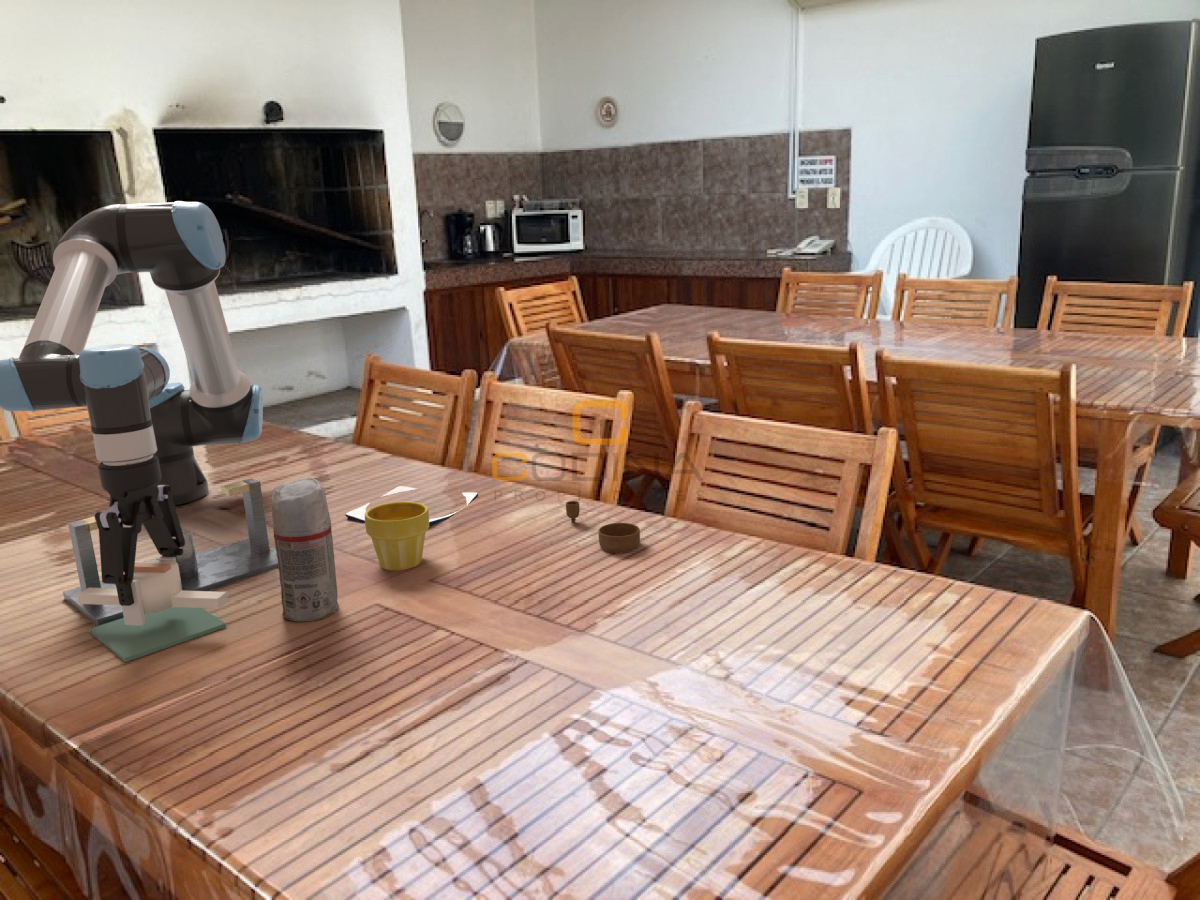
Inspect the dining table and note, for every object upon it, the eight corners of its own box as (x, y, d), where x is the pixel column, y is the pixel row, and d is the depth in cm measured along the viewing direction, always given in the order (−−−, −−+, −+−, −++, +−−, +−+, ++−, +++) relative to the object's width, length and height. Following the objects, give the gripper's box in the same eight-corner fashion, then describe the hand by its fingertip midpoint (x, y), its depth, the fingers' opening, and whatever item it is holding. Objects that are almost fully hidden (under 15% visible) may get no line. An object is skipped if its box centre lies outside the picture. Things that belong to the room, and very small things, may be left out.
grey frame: (251, 544, 169) (240, 470, 166) (294, 564, 158) (283, 486, 155) (64, 598, 148) (47, 516, 145) (98, 627, 137) (81, 538, 134)
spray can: (353, 603, 142) (338, 476, 137) (320, 626, 134) (303, 493, 129) (306, 597, 145) (289, 473, 139) (271, 620, 137) (252, 489, 132)
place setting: (568, 573, 151) (566, 539, 150) (562, 532, 171) (561, 501, 169) (675, 566, 153) (675, 532, 151) (658, 525, 172) (657, 494, 170)
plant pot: (445, 558, 158) (440, 503, 156) (409, 581, 149) (403, 523, 147) (395, 551, 162) (390, 498, 160) (357, 573, 153) (350, 517, 151)
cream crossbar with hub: (238, 593, 136) (232, 556, 135) (207, 617, 129) (201, 577, 127) (103, 589, 140) (96, 553, 139) (65, 612, 132) (57, 573, 131)
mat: (187, 601, 145) (186, 597, 145) (226, 627, 135) (225, 623, 135) (90, 632, 136) (89, 628, 135) (125, 662, 126) (124, 658, 126)
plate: (338, 528, 177) (336, 515, 176) (399, 496, 195) (398, 484, 194) (431, 538, 169) (429, 524, 169) (485, 504, 187) (484, 491, 187)
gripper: (150, 439, 139) (174, 582, 145) (48, 479, 120) (81, 642, 125) (196, 439, 138) (218, 583, 144) (101, 480, 118) (131, 644, 124)
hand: (154, 610), depth 135 cm, fingers closed on cream crossbar with hub, 8 cm apart
